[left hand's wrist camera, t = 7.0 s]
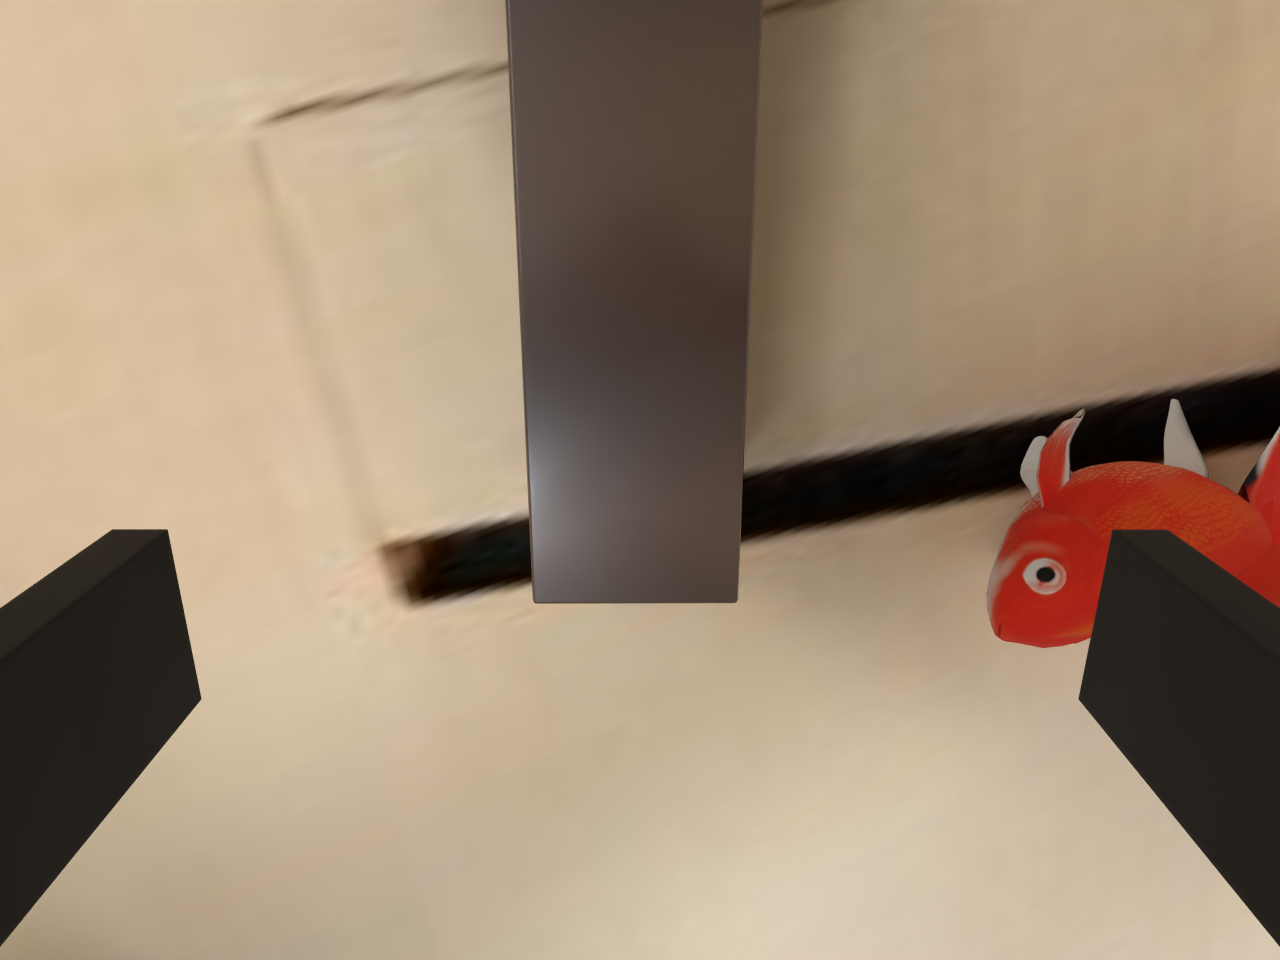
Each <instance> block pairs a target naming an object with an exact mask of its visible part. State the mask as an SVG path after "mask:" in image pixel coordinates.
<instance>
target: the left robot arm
mask: <svg viewBox="0 0 1280 960" xmlns="http://www.w3.org/2000/svg"><path fill="white" fill-rule="evenodd" d="M200 700H201V694H200V689H199V684H198V679H197V674H196V669H195V664H194V659H193V654H192V649H191V644H190V639H189V634H188V629H187V624H186V619H185V614H184V609H183V604H182V599H181V594H180V589H179V584H178V579H177V574H176V569H175V564H174V559H173V554H172V549H171V544H170V539H169V534H168V530H111V531H110V532H108V533H107V534H105V535H104V536H102V537H101V538H100V539H98V540H97V541H95V542H94V543H92V544H91V545H90V546H88V547H87V548H85V549H84V550H83V551H81V552H80V553H78V554H77V555H75V556H74V557H73V558H71V559H70V560H68V561H67V562H65V563H64V564H63V565H61V566H60V567H58V568H57V569H55V570H54V571H53V572H51V573H50V574H48V575H47V576H45V577H44V578H43V579H41V580H40V581H38V582H37V583H35V584H34V585H33V586H31V587H30V588H28V589H27V590H25V591H24V592H23V593H21V594H20V595H18V596H17V597H16V598H14V599H13V600H11V601H10V602H8V603H7V604H6V605H4V606H3V607H1V608H0V946H1V945H2V944H3V943H4V941H5V940H6V939H7V938H8V936H9V935H10V934H11V933H12V932H13V930H14V929H15V928H16V927H17V925H18V924H19V923H20V922H21V920H22V919H23V918H24V917H25V916H26V914H27V913H28V912H29V911H30V909H31V908H32V907H33V906H34V904H35V903H36V902H37V901H38V900H39V898H40V897H41V896H42V895H43V893H44V892H45V891H46V890H47V888H48V887H49V886H50V885H51V884H52V882H53V881H54V880H55V879H56V877H57V876H58V875H59V874H60V872H61V871H62V870H63V869H64V868H65V866H66V865H67V864H68V863H69V861H70V860H71V859H72V858H73V856H74V855H75V854H76V853H77V852H78V850H79V849H80V848H81V847H82V845H83V844H84V843H85V842H86V840H87V839H88V838H89V837H90V836H91V834H92V833H93V832H94V831H95V829H96V828H97V827H98V826H99V824H100V823H101V822H102V821H103V820H104V818H105V817H106V816H107V815H108V813H109V812H110V811H111V810H112V808H113V807H114V806H115V805H116V804H117V802H118V801H119V800H120V799H121V797H122V796H123V795H124V794H125V793H126V791H127V790H128V789H129V788H130V786H131V785H132V784H133V783H134V781H135V780H136V779H137V778H138V777H139V775H140V774H141V773H142V772H143V770H144V769H145V768H146V767H147V765H148V764H149V763H150V762H151V761H152V759H153V758H154V757H155V756H156V754H157V753H158V752H159V751H160V749H161V748H162V747H163V746H164V745H165V743H166V742H167V741H168V740H169V738H170V737H171V736H172V735H173V733H174V732H175V731H176V730H177V729H178V727H179V726H180V725H181V724H182V722H183V721H184V720H185V719H186V717H187V716H188V715H189V714H190V713H191V711H192V710H193V709H194V708H195V706H196V705H197V704H198V703H199V701H200ZM1079 700H1080V701H1081V703H1082V704H1083V705H1084V706H1085V708H1086V709H1087V710H1088V711H1089V713H1090V714H1091V715H1092V716H1093V717H1094V719H1095V720H1096V721H1097V722H1098V724H1099V725H1100V726H1101V727H1102V729H1103V730H1104V731H1105V732H1106V733H1107V735H1108V736H1109V737H1110V738H1111V740H1112V741H1113V742H1114V743H1115V745H1116V746H1117V747H1118V748H1119V749H1120V751H1121V752H1122V753H1123V754H1124V756H1125V757H1126V758H1127V759H1128V761H1129V762H1130V763H1131V764H1132V765H1133V767H1134V768H1135V769H1136V770H1137V772H1138V773H1139V774H1140V775H1141V777H1142V778H1143V779H1144V780H1145V781H1146V783H1147V784H1148V785H1149V786H1150V788H1151V789H1152V790H1153V791H1154V793H1155V794H1156V795H1157V796H1158V797H1159V799H1160V800H1161V801H1162V802H1163V804H1164V805H1165V806H1166V807H1167V808H1168V810H1169V811H1170V812H1171V813H1172V815H1173V816H1174V817H1175V818H1176V820H1177V821H1178V822H1179V823H1180V824H1181V826H1182V827H1183V828H1184V829H1185V831H1186V832H1187V833H1188V834H1189V836H1190V837H1191V838H1192V839H1193V840H1194V842H1195V843H1196V844H1197V845H1198V847H1199V848H1200V849H1201V850H1202V852H1203V853H1204V854H1205V855H1206V856H1207V858H1208V859H1209V860H1210V861H1211V863H1212V864H1213V865H1214V866H1215V868H1216V869H1217V870H1218V871H1219V872H1220V874H1221V875H1222V876H1223V877H1224V879H1225V880H1226V881H1227V882H1228V884H1229V885H1230V886H1231V887H1232V888H1233V890H1234V891H1235V892H1236V893H1237V895H1238V896H1239V897H1240V898H1241V900H1242V901H1243V902H1244V903H1245V904H1246V906H1247V907H1248V908H1249V909H1250V911H1251V912H1252V913H1253V914H1254V916H1255V917H1256V918H1257V919H1258V920H1259V922H1260V923H1261V924H1262V925H1263V927H1264V928H1265V929H1266V930H1267V932H1268V933H1269V934H1270V935H1271V936H1272V938H1273V939H1274V940H1275V941H1276V943H1277V944H1278V945H1279V946H1280V608H1279V607H1277V606H1276V605H1274V604H1273V603H1272V602H1270V601H1269V600H1267V599H1266V598H1264V597H1263V596H1262V595H1260V594H1259V593H1257V592H1256V591H1255V590H1253V589H1252V588H1250V587H1249V586H1247V585H1246V584H1245V583H1243V582H1242V581H1240V580H1239V579H1237V578H1236V577H1235V576H1233V575H1232V574H1230V573H1229V572H1227V571H1226V570H1225V569H1223V568H1222V567H1220V566H1219V565H1217V564H1216V563H1215V562H1213V561H1212V560H1210V559H1209V558H1207V557H1206V556H1205V555H1203V554H1202V553H1200V552H1199V551H1197V550H1196V549H1195V548H1193V547H1192V546H1190V545H1189V544H1188V543H1186V542H1185V541H1183V540H1182V539H1180V538H1179V537H1178V536H1176V535H1175V534H1173V533H1172V532H1170V531H1169V530H1112V534H1111V539H1110V544H1109V549H1108V554H1107V559H1106V564H1105V569H1104V574H1103V579H1102V584H1101V589H1100V594H1099V599H1098V604H1097V609H1096V614H1095V619H1094V624H1093V629H1092V634H1091V639H1090V644H1089V649H1088V654H1087V659H1086V664H1085V669H1084V674H1083V679H1082V684H1081V689H1080V694H1079Z"/></svg>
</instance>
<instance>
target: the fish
mask: <svg viewBox="0 0 1280 960" xmlns="http://www.w3.org/2000/svg"><path fill="white" fill-rule="evenodd" d="M1084 415H1085V408H1084V409H1082V410H1080V411H1079V412H1078V413H1077V414H1076V415H1075V416H1074V417H1073V418H1071V419H1068V420H1066V421H1063V422H1062V423H1061V424H1060V425H1059V426H1058V427H1057V428H1056V430H1055V431H1054V432H1053V433H1052V434H1051V436H1050V437H1049V438H1046V437H1045V436H1039V437H1036V438H1035V439H1034V440H1033V441H1032V443H1031V445H1030V447H1029V449H1028V451H1027V453H1026V455H1025V458H1024V460H1023V462H1022V465H1021V470H1020V474H1021V478H1022V480H1023V481H1024V483H1025V484H1026V486H1027V487H1028V488H1029V491H1030V493H1031V499H1030V500H1029V501H1028V502H1027V503H1026V504H1025V505H1024V506H1023V507H1022V509H1021V510H1020V512H1019V513H1018V514H1017V516H1016V518H1015V519H1014V521H1013V522H1012V524H1011V525H1010V527H1009V528H1008V531H1007V533H1006V535H1005V537H1004V539H1003V541H1002V544H1001V547H1000V549H999V552H998V554H997V557H996V560H995V562H994V566H993V569H992V572H991V575H990V579H989V583H988V589H987V609H988V614H989V619H990V622H991V625H992V628H993V631H994V633H995V635H996V636H997V637H999V638H1000V639H1001V640H1004V641H1007V642H1014V643H1021V644H1026V645H1031V646H1036V647H1041V648H1047V647H1056V646H1064V645H1068V644H1072V643H1078V642H1081V641H1083V640H1086V639H1088V638H1091V634H1092V629H1093V624H1094V619H1095V614H1096V609H1097V604H1098V599H1099V594H1100V589H1101V584H1102V579H1103V574H1104V569H1105V564H1106V559H1107V554H1108V549H1109V544H1110V539H1111V534H1112V530H1169V531H1170V532H1172V533H1173V534H1175V535H1176V536H1178V537H1179V538H1180V539H1182V540H1183V541H1185V542H1186V543H1188V544H1189V545H1190V546H1192V547H1193V548H1195V549H1196V550H1197V551H1199V552H1200V553H1202V554H1203V555H1205V556H1206V557H1207V558H1209V559H1210V560H1212V561H1213V562H1215V563H1216V564H1217V565H1219V566H1220V567H1222V568H1223V569H1225V570H1226V571H1227V572H1229V573H1230V574H1232V575H1233V576H1235V577H1236V578H1237V579H1239V580H1240V581H1242V582H1243V583H1245V584H1246V585H1247V586H1249V587H1250V588H1252V589H1253V590H1255V591H1256V592H1257V593H1259V594H1260V595H1262V596H1263V597H1264V598H1266V599H1267V600H1269V601H1270V602H1272V603H1273V604H1274V605H1276V606H1277V607H1279V608H1280V427H1279V429H1278V430H1277V432H1276V433H1275V435H1274V437H1273V438H1272V440H1271V441H1270V443H1269V444H1268V446H1267V448H1266V449H1265V451H1264V452H1263V454H1262V455H1261V457H1260V458H1259V460H1258V461H1257V463H1256V464H1255V466H1254V467H1253V469H1252V470H1251V472H1250V473H1249V475H1248V477H1247V478H1246V480H1245V481H1244V483H1243V484H1242V486H1241V488H1240V491H1239V493H1238V494H1236V493H1235V492H1233V491H1231V490H1229V489H1228V488H1226V487H1224V486H1222V485H1220V484H1218V483H1216V482H1214V481H1212V480H1210V479H1208V470H1207V467H1206V464H1205V461H1204V459H1203V457H1202V455H1201V453H1200V451H1199V449H1198V447H1197V444H1196V442H1195V440H1194V438H1193V436H1192V434H1191V431H1190V429H1189V427H1188V424H1187V422H1186V419H1185V417H1184V414H1183V411H1182V408H1181V406H1180V403H1179V401H1178V400H1176V399H1171V403H1170V409H1169V414H1168V419H1167V423H1166V428H1165V435H1164V464H1158V463H1150V462H1138V461H1123V462H1113V463H1106V464H1099V465H1094V466H1089V467H1086V468H1083V469H1080V470H1077V471H1075V472H1072V471H1071V462H1070V444H1071V441H1072V438H1073V436H1074V434H1075V432H1076V430H1077V428H1078V426H1079V424H1080V423H1081V421H1082V419H1083V417H1084Z"/></svg>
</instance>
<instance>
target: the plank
mask: <svg viewBox="0 0 1280 960" xmlns="http://www.w3.org/2000/svg"><path fill="white" fill-rule="evenodd" d="M505 2H506V24H507V45H508V67H509V89H510V111H511V132H512V154H513V176H514V198H515V220H516V241H517V263H518V285H519V307H520V328H521V350H522V372H523V394H524V416H525V437H526V459H527V481H528V503H529V524H530V546H531V568H532V590H533V601H534V603H736V602H737V600H738V584H739V560H740V536H741V513H742V489H743V465H744V441H745V418H746V394H747V370H748V346H749V322H750V299H751V275H752V251H753V227H754V204H755V180H756V156H757V132H758V109H759V85H760V61H761V37H762V13H763V0H505Z"/></svg>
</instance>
